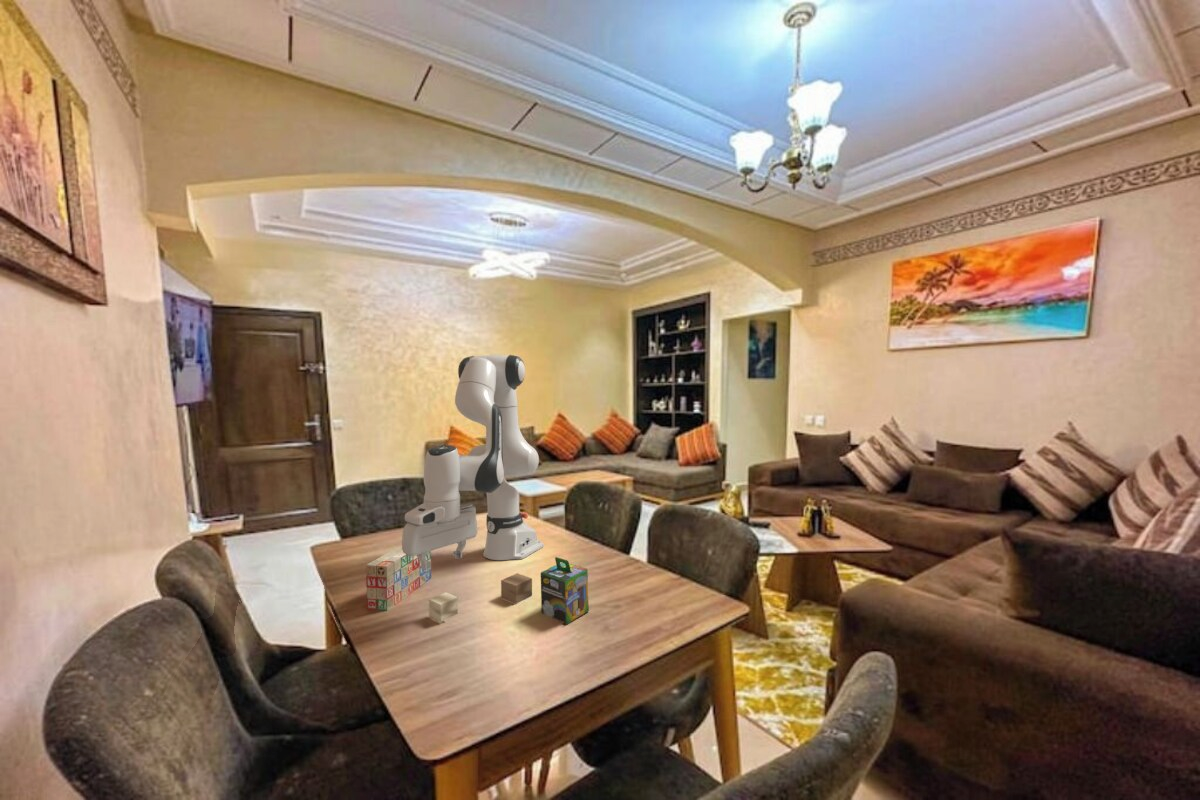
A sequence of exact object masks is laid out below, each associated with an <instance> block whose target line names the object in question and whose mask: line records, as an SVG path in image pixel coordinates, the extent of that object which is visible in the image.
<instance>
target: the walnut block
mask: <svg viewBox="0 0 1200 800" xmlns="http://www.w3.org/2000/svg"><path fill="white" fill-rule="evenodd" d="M500 593H501V595H500V599H501V598H502V599H501V600H503V599H505V600H504V601H506V600H507V601H506V602H508V601H510V602H509V603H511V602H512V603H511V604H513V603H515V604H514V605H516V604H517V603H519V602H521V601H522V602H524V601H526V600H528V599H530V598H532V597H533V578H532V577H529V576H526V575H524V574H520V573H518V572H517V573H514V574H512V575H510V576H508V577H506V578H503V579H501V580H500ZM531 596H532V597H531ZM529 597H530V598H529ZM527 598H528V599H527ZM525 599H526V600H525ZM523 600H524V601H523ZM522 602H521V603H522ZM519 604H520V603H519ZM517 605H518V604H517Z"/></svg>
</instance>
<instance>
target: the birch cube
mask: <svg viewBox="0 0 1200 800" xmlns="http://www.w3.org/2000/svg"><path fill="white" fill-rule="evenodd" d="M458 598H459V597H457V596H455V595H453V594H451V593H448V592H446V591H445V592H444V593H441V594H438V595H436V596H434V597H432V598H429V599H428V602H429V603H428V607H429V608H428V609H429V610H428V612H429V613H428V619H430V620H432V621H433V622H436V623H438V624H440V625H443V624H444V623H445V621H446V620H447V619H450V618H451V617H454V616H456V615H458V614H459V605H458V604H459V601H458Z"/></svg>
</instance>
